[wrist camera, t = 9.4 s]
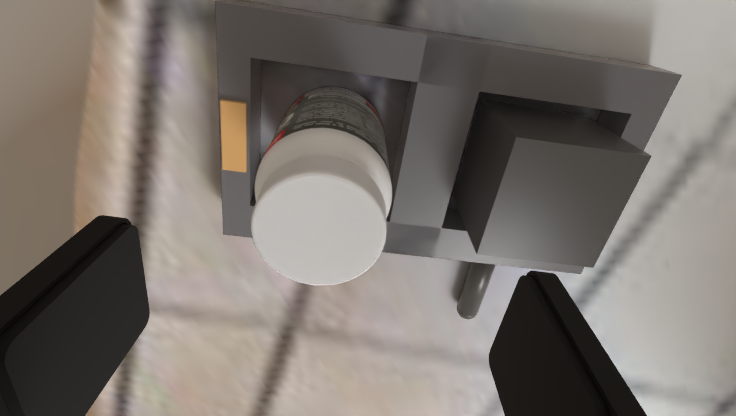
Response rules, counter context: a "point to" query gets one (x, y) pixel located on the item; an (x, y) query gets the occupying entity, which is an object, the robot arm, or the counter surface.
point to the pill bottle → (323, 190)
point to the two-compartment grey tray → (459, 136)
